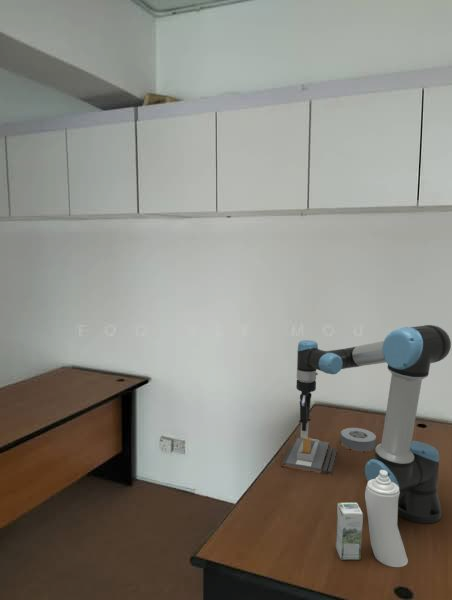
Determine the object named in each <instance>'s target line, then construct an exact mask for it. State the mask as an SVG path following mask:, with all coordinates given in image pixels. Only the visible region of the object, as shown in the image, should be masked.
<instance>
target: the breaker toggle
mask: <svg viewBox="0 0 452 600" xmlns="http://www.w3.org/2000/svg"><path fill="white" fill-rule="evenodd" d="M302 439H303V453H306V454H310V453H311V451H310V450H311V439H312V437H309V436H308V438H302Z"/></svg>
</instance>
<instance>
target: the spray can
mask: <svg viewBox="0 0 452 600" xmlns="http://www.w3.org/2000/svg"><path fill="white" fill-rule="evenodd" d="M399 494H400V491H399V487H398V485H396V484H395V483H393V482H391V480H390V479H389V477H388V473H387V471H385V470H380V474H379V475H378V477H376V479H372V480H369V481H367V484H366V486H365V492H364V497H365V506H366V513H367V523H368V530H369V539H370V546H371V548H372V549H371V550H372V552H373V555H374V558H375V559H376V560H377V561H378V562H379V563H381V564H382V565H385V566H387V567H392V568H401V567H405V566H406V565H408V563H409V560H408V557H407V554H406V553H407V552H406V549H405V546H404V542H403V540H402V536H401V532H400V530H399V527H398V515H399V514H398V498H399Z"/></svg>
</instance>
